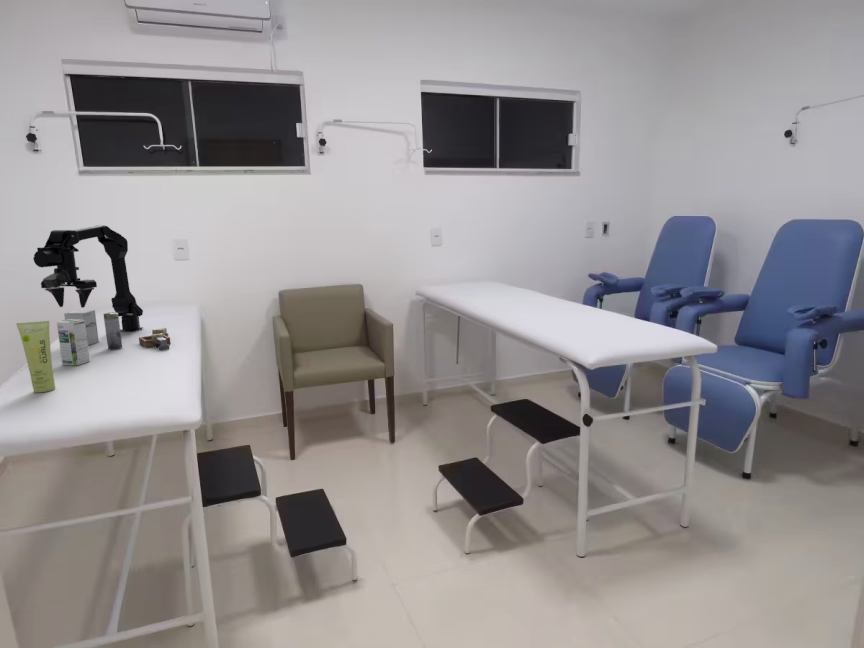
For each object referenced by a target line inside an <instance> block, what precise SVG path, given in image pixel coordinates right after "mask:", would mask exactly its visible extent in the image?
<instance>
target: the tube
mask: <svg viewBox="0 0 864 648" xmlns="http://www.w3.org/2000/svg"><path fill="white" fill-rule="evenodd" d="M15 324H16V327H17V329H18V330H17V331H18V332H19V335H20V339H21V344H22V346H23V351H24V355H25V358H26V361H27V366H28V370H29V375H30V381H31V384H32V385H31V386H32V390H33V392H34V393H47V392H50V391H53V390H55V388H56V383H55V377H54V370H53V361H52V352H51V340H50V339H51V337H50V320H42V321H30V322H29V321H28V322H16V323H15Z"/></svg>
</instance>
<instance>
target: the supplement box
mask: <svg viewBox="0 0 864 648" xmlns="http://www.w3.org/2000/svg"><path fill="white" fill-rule="evenodd" d="M63 315H64V320H67V319H75V320H85V326H86V334H87V342H88V346H90V345H93V344H95V343H98V342H100V341H99V332H98V324H97V318H96V310H95V309H77V310H76V309H75V310H73V311H68V312H65V313H64V314H63Z"/></svg>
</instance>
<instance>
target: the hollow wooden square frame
mask: <svg viewBox="0 0 864 648" xmlns="http://www.w3.org/2000/svg"><path fill="white" fill-rule="evenodd" d="M163 335H164V334H163ZM164 338H165V339H167V344H168V345H171V337H170V336H169V335H168V336H166V335H164ZM138 341H139V344H140V345H141V346H142V345H143V346H142V347H144V348H145V347H148V348H154V347H153V346H152V337H151V335H147V336H141V337H140V336H139V337H138Z"/></svg>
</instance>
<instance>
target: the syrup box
mask: <svg viewBox="0 0 864 648" xmlns="http://www.w3.org/2000/svg"><path fill="white" fill-rule="evenodd" d="M56 328H57V329H56V330H57V334H58V336H57V337H58V342H59V349H60V358H61V364H62V366H74V367H77V366H80V365H83V364H86V363H90V361H91V360H90V359H91V358H90V352H89V345H88V342H87V334H86V326H85V320H75V319H67V320H65V319H63V320H59V321H56Z"/></svg>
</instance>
